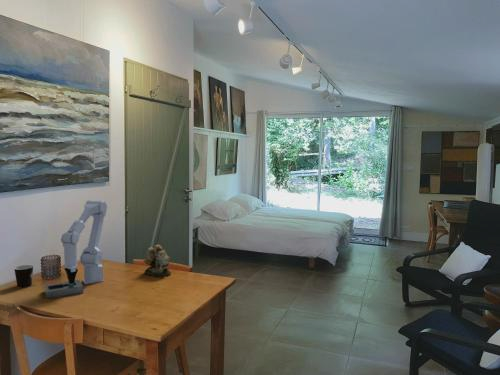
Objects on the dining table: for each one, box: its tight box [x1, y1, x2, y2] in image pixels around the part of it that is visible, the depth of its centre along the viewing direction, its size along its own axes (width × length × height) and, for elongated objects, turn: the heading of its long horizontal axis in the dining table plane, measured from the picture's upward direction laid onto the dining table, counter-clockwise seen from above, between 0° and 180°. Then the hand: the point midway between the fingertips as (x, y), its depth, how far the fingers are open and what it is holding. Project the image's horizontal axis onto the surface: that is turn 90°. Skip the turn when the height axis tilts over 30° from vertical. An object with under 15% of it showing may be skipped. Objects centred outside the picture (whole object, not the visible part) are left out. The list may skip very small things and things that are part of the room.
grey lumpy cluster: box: [143, 244, 172, 278], centre depth 226 cm, size 18×12×17 cm, turn 65°
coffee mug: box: [14, 264, 34, 289], centre depth 204 cm, size 12×9×10 cm
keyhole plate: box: [44, 279, 84, 300], centre depth 194 cm, size 16×12×3 cm
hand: (71, 282), depth 196 cm, fingers closed on peg, 2 cm apart
